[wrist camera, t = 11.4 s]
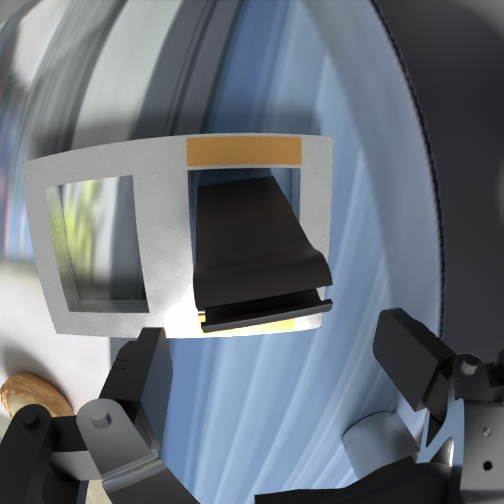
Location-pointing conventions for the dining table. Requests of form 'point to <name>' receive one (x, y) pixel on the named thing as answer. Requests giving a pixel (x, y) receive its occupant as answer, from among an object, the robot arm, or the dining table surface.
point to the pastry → (33, 395)
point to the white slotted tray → (166, 224)
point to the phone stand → (253, 258)
